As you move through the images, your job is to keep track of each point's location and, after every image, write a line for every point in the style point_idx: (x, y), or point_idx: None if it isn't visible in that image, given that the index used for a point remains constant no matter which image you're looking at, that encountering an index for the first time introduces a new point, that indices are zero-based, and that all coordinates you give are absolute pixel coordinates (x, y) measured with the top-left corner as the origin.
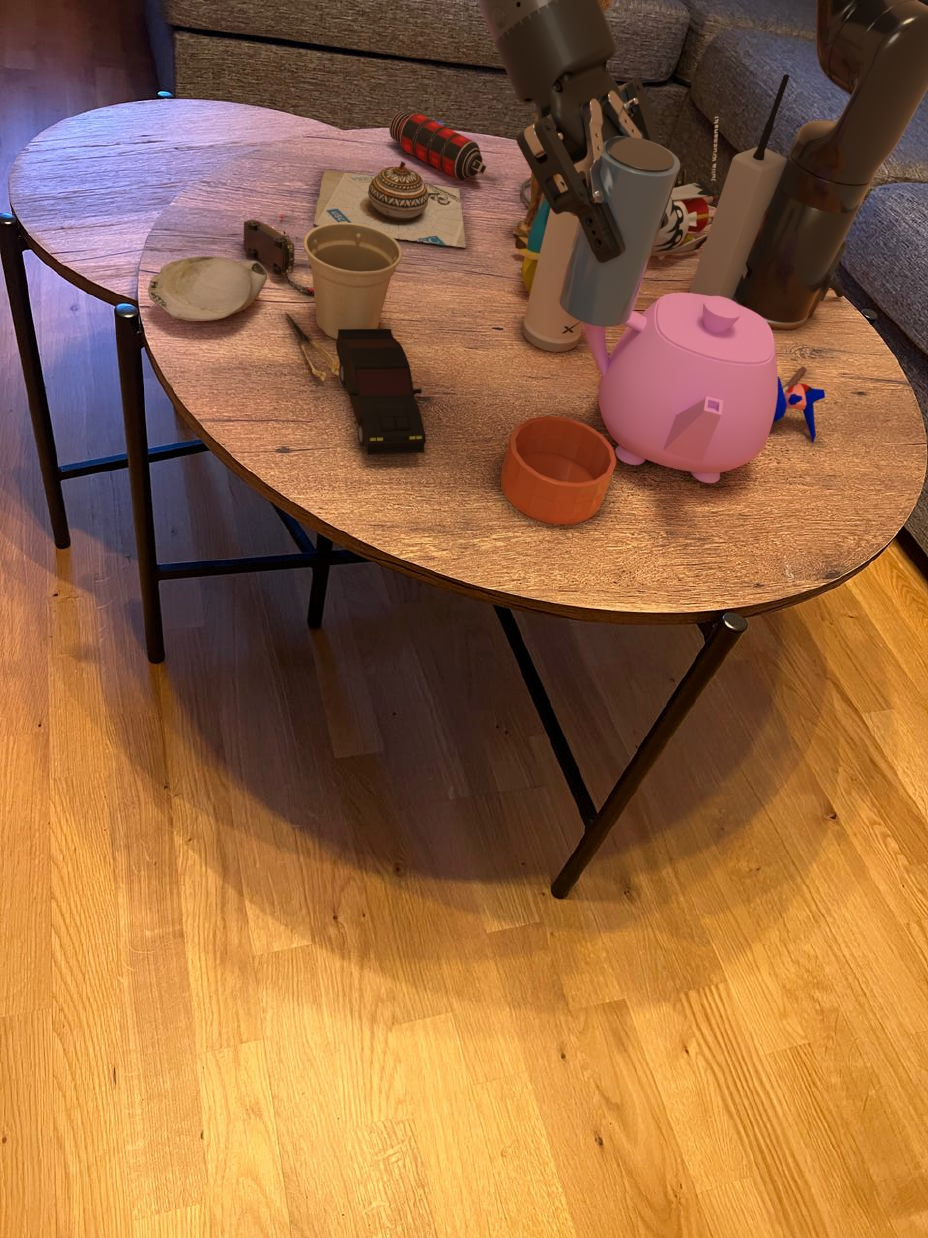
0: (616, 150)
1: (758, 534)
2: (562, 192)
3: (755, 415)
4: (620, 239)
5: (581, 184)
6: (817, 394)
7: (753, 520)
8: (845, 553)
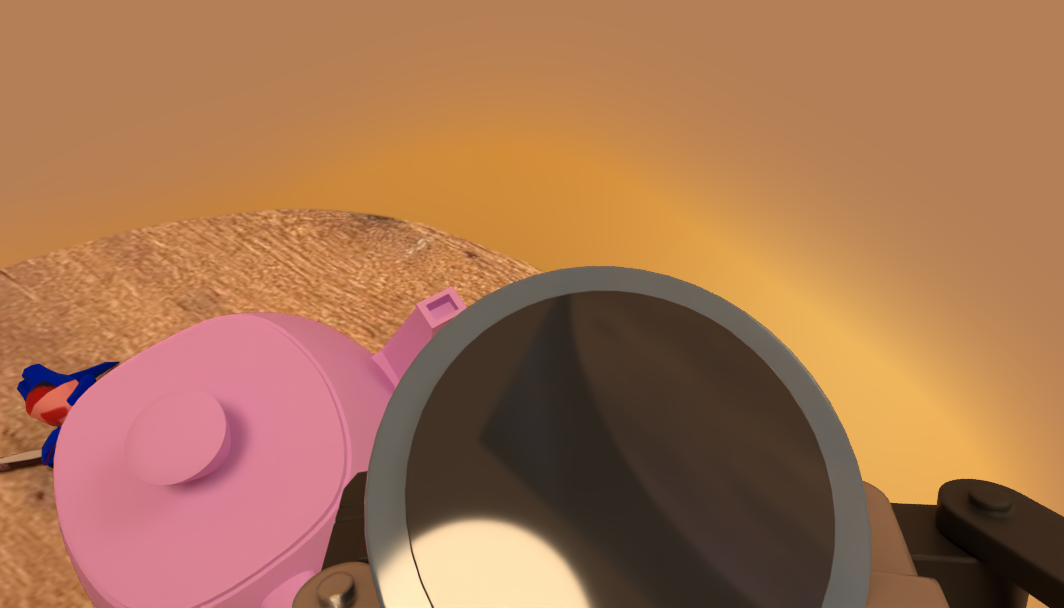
0: (754, 573)
1: (388, 301)
2: (1019, 606)
3: (309, 319)
4: None
5: (997, 527)
6: (43, 372)
7: (368, 319)
8: (327, 223)
